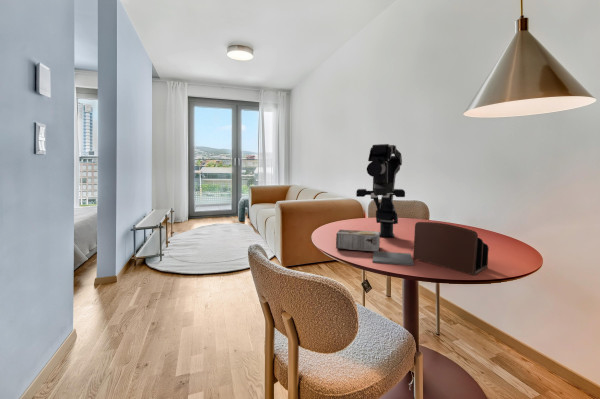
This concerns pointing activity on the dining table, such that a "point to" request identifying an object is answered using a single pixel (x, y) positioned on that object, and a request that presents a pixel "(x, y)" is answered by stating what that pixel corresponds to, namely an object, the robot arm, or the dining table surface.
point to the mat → (392, 258)
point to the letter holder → (450, 247)
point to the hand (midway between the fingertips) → (379, 213)
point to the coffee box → (358, 240)
